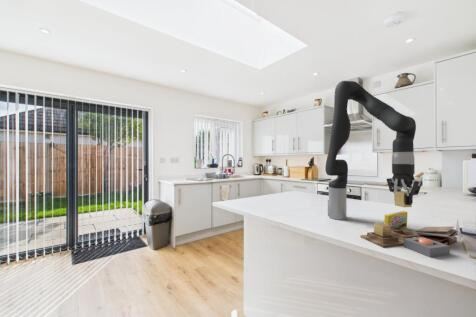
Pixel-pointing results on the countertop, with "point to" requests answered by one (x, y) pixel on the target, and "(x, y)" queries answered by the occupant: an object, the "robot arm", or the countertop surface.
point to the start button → (425, 241)
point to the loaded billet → (382, 230)
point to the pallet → (390, 238)
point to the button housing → (427, 247)
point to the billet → (401, 199)
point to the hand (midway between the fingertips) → (403, 203)
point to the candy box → (396, 220)
